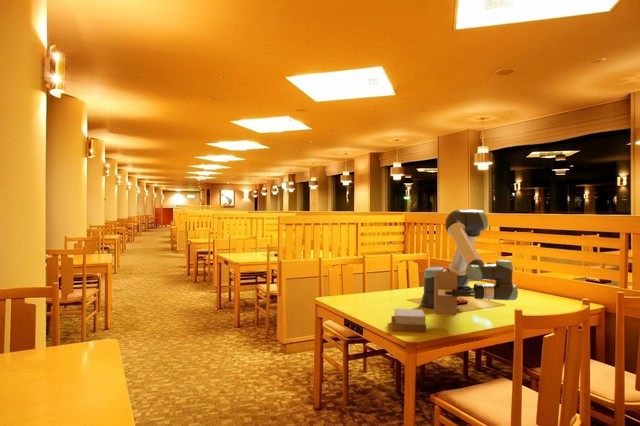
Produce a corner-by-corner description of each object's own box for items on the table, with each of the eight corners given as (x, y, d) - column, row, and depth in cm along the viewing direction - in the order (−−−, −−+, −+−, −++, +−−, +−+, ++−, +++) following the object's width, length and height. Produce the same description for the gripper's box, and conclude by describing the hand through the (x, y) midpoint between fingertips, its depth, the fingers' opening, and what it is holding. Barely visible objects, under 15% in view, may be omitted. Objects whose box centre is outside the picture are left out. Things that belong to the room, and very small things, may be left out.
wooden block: (456, 315, 197) (457, 274, 196) (435, 314, 199) (436, 273, 198) (454, 310, 207) (454, 271, 206) (433, 309, 209) (434, 270, 208)
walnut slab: (391, 323, 212) (391, 315, 212) (422, 324, 209) (422, 317, 209) (392, 332, 196) (392, 324, 196) (426, 334, 193) (426, 325, 193)
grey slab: (394, 316, 210) (394, 308, 210) (422, 317, 209) (422, 309, 208) (395, 323, 197) (395, 315, 197) (425, 325, 195) (425, 316, 195)
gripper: (488, 304, 189) (439, 302, 192) (477, 294, 211) (433, 292, 215) (489, 288, 188) (439, 287, 192) (477, 279, 211) (433, 278, 214)
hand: (436, 289), depth 203 cm, fingers closed on wooden block, 10 cm apart
